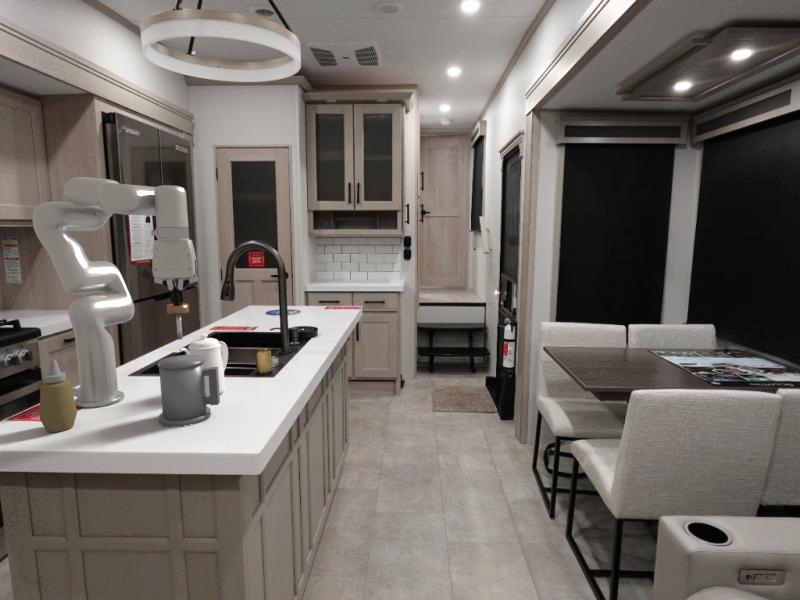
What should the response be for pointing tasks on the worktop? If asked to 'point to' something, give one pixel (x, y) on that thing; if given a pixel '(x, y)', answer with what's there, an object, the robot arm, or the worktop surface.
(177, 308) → the plunger
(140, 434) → the worktop surface
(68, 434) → the worktop surface
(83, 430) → the worktop surface
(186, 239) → the robot arm
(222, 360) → the coffeepot
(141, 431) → the worktop surface
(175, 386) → the press carafe
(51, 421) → the squeeze bottle
